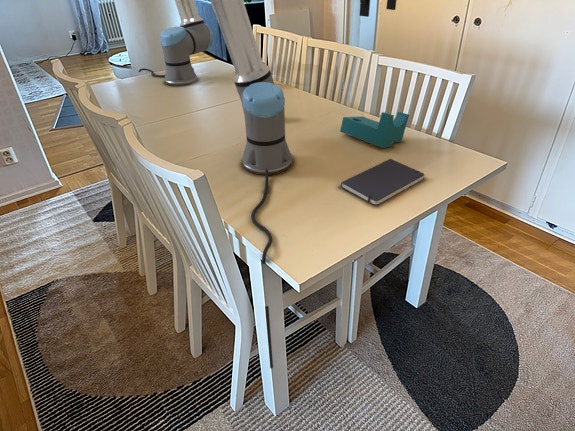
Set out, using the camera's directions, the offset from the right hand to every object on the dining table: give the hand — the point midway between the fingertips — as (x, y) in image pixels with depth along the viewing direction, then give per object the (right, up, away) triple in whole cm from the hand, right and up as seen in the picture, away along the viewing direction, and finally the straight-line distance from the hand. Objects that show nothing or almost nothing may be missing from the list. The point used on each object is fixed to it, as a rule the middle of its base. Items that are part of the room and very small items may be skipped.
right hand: (377, 12), depth 119 cm
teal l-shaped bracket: (+3, -33, +21) cm, 39 cm away
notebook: (+1, -51, -4) cm, 51 cm away
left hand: (-42, +30, +46) cm, 69 cm away
